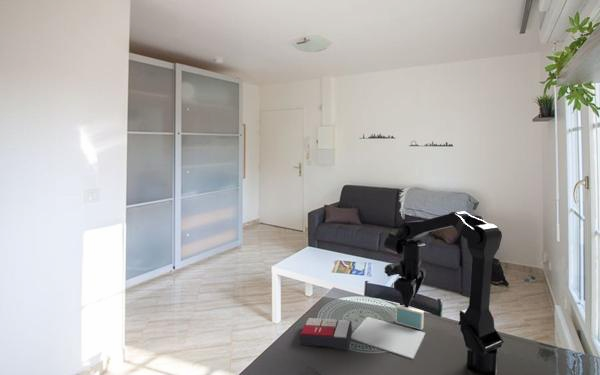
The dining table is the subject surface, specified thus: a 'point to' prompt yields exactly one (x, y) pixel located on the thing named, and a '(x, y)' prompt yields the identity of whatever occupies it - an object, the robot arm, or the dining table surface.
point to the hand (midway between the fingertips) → (409, 302)
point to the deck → (409, 317)
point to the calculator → (326, 333)
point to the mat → (389, 337)
